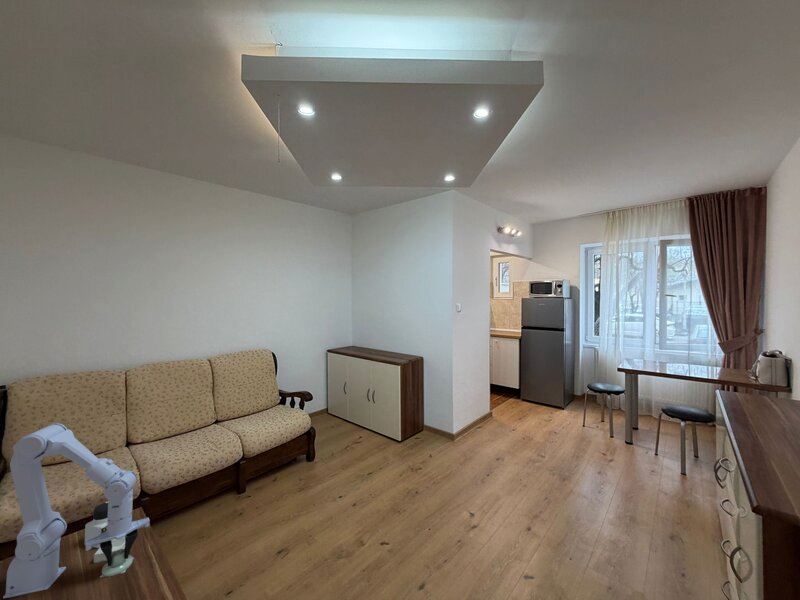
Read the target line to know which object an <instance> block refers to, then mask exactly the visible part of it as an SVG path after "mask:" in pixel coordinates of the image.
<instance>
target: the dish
mask: <svg viewBox="0 0 800 600" xmlns="http://www.w3.org/2000/svg"><path fill="white" fill-rule="evenodd" d="M111 541H112V553H113V552H115V551H117V550H119V549H125V537H124V538H121V539H119V540H116V539H113V540H111ZM111 555H112V554H111ZM104 562H107V558H106V556H105V554H104V553H103V552H102V550H101V548H97V551H95V553H94V554H93V564H99V563H104Z"/></svg>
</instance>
